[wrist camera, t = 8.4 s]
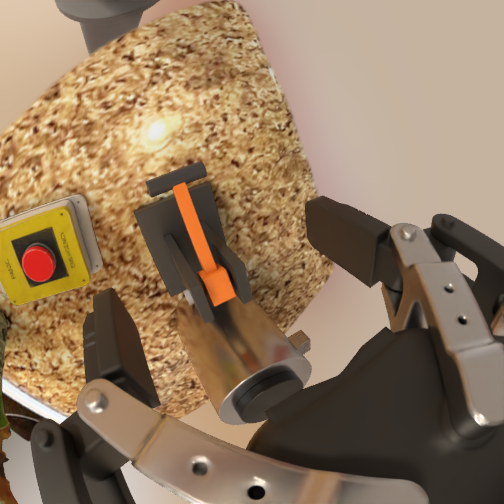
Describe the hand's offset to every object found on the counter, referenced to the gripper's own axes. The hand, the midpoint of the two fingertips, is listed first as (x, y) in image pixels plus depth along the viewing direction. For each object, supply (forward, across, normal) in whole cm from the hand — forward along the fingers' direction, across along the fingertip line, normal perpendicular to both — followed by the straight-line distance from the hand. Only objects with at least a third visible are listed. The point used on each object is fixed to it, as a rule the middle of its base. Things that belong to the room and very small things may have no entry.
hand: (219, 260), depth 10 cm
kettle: (+21, -3, +24) cm, 32 cm away
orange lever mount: (+21, -2, +10) cm, 23 cm away
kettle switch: (+14, -2, +6) cm, 15 cm away
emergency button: (+21, +15, +3) cm, 26 cm away
